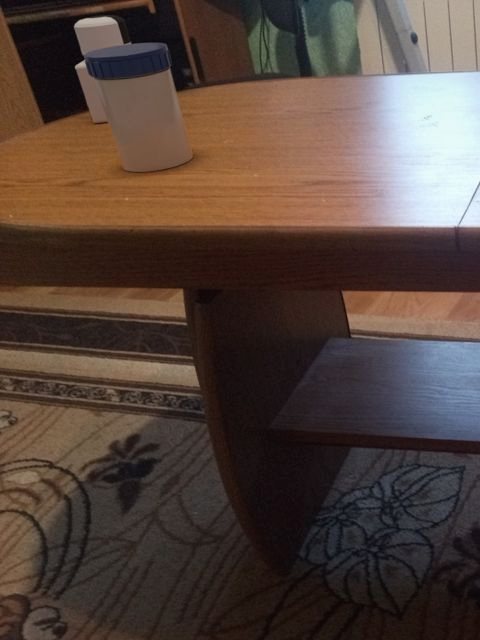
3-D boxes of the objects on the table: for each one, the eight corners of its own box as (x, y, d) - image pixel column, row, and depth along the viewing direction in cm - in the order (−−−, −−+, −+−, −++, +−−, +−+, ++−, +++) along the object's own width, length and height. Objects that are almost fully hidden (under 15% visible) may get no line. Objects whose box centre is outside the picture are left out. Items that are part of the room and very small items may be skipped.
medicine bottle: (105, 111, 100) (75, 16, 94) (159, 105, 101) (132, 10, 95) (92, 124, 94) (59, 23, 88) (149, 118, 95) (120, 17, 89)
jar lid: (72, 79, 70) (65, 58, 69) (120, 63, 77) (114, 44, 76) (144, 77, 69) (138, 56, 68) (187, 61, 75) (182, 41, 74)
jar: (107, 172, 75) (71, 63, 70) (147, 151, 81) (117, 49, 76) (170, 172, 74) (138, 61, 68) (205, 150, 80) (179, 47, 74)
